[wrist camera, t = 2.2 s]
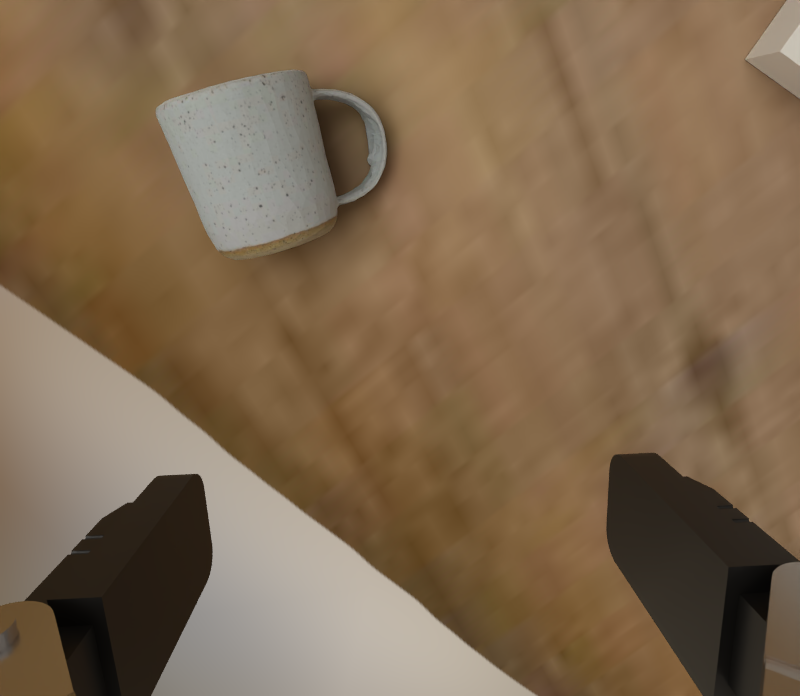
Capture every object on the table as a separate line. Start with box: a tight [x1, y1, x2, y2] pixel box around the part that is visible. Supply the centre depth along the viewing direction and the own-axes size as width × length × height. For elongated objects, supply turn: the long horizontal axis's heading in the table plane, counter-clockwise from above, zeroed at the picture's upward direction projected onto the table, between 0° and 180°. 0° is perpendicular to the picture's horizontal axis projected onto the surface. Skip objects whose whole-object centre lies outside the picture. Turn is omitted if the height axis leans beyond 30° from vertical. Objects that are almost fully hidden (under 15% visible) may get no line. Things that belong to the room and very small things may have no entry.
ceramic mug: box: [156, 70, 387, 260], centre depth 28 cm, size 11×8×8 cm
